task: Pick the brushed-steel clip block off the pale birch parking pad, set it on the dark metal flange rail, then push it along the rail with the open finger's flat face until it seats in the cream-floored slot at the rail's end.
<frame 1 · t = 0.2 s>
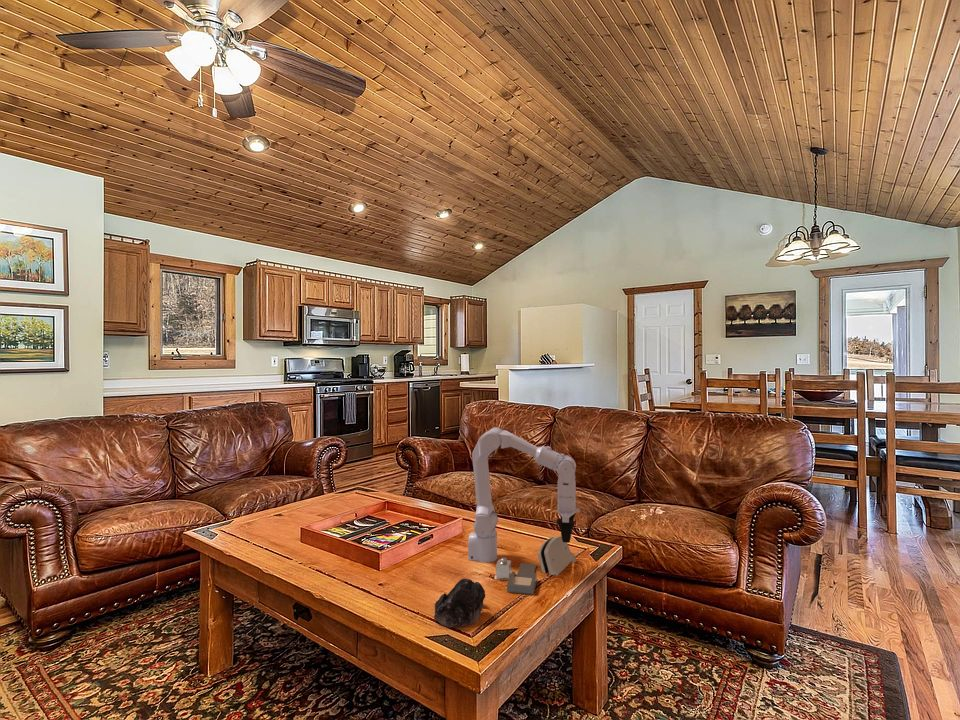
hand: (566, 537, 157), 10 cm above the table, tool pointing down, fingers open, 7 cm apart
black rock: (458, 616, 130), on the table
flange rail: (524, 580, 149), on the table
grey rounded housing: (556, 567, 159), on the table
parking pad: (503, 578, 150), on the table
clip block: (503, 575, 150), point 1 cm above the table, touching parking pad
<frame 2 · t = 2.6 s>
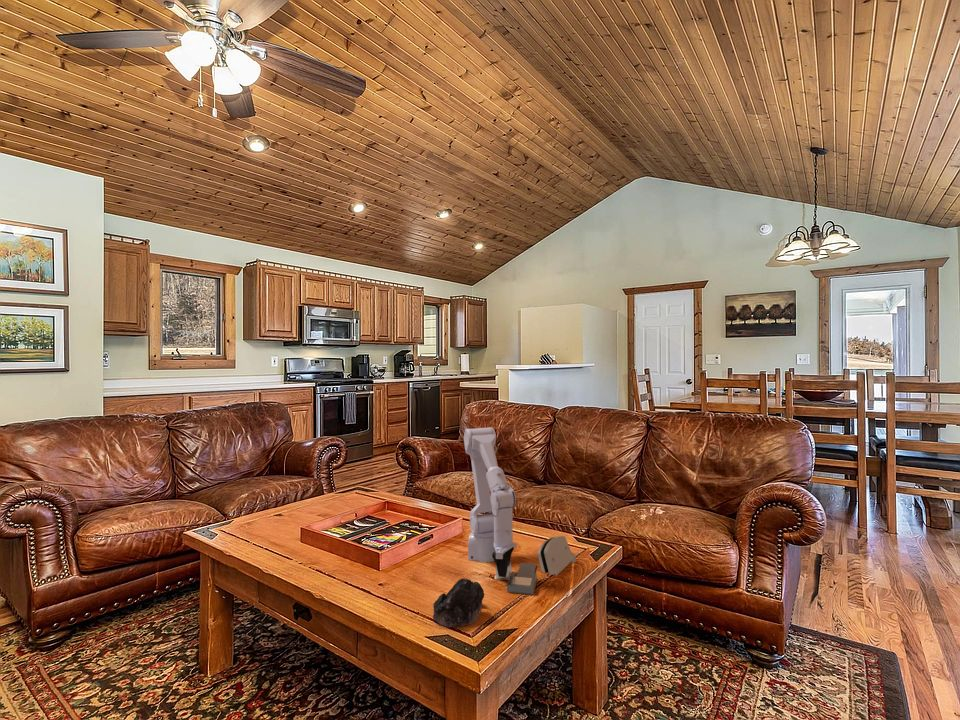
hand: (503, 573, 150), 2 cm above the table, tool pointing down, fingers closed on clip block, 4 cm apart
clip block: (503, 575, 150), point 1 cm above the table, touching gripper, parking pad
everything else where it was.
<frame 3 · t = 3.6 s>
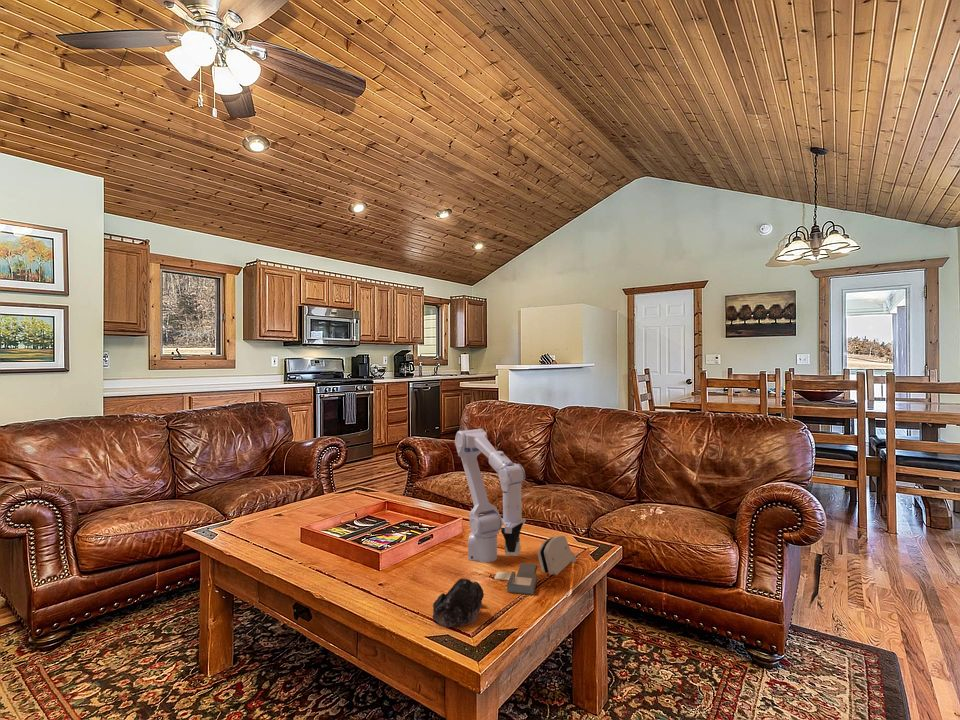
hand: (512, 548, 151), 9 cm above the table, tool pointing down, fingers closed on clip block, 4 cm apart
clip block: (512, 552, 151), point 8 cm above the table, touching gripper
everything else where it was.
when the fingers open (3 cm above the table, at t = 4.9 s): clip block stays where it is, resting on flange rail.
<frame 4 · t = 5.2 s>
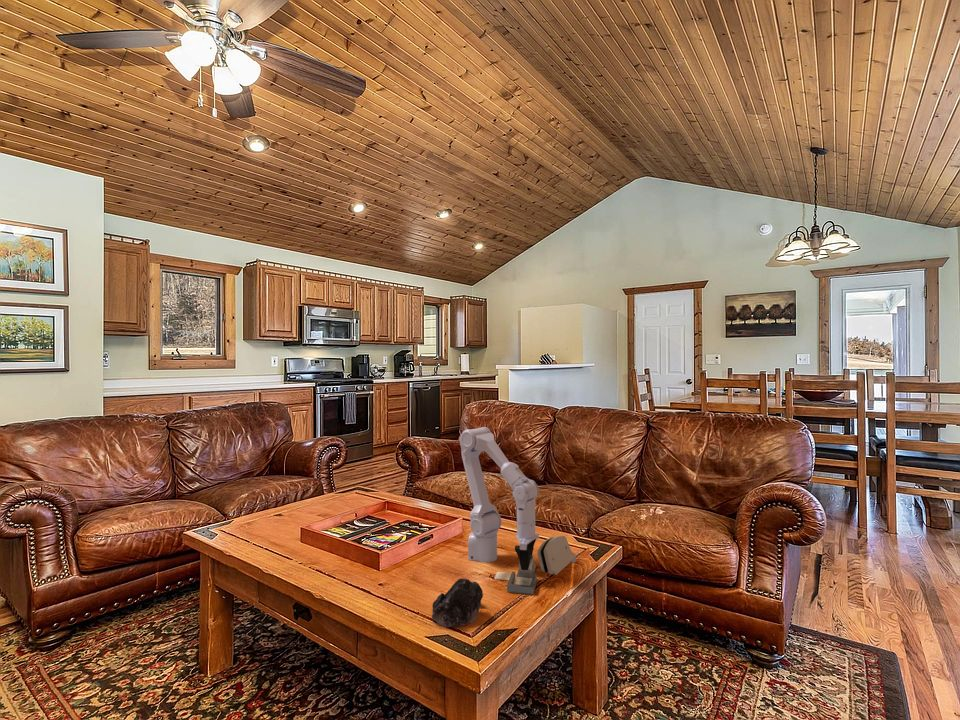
hand: (526, 564, 153), 3 cm above the table, tool pointing down, fingers open, 7 cm apart
clip block: (526, 570, 153), point 1 cm above the table, touching flange rail
everything else where it was.
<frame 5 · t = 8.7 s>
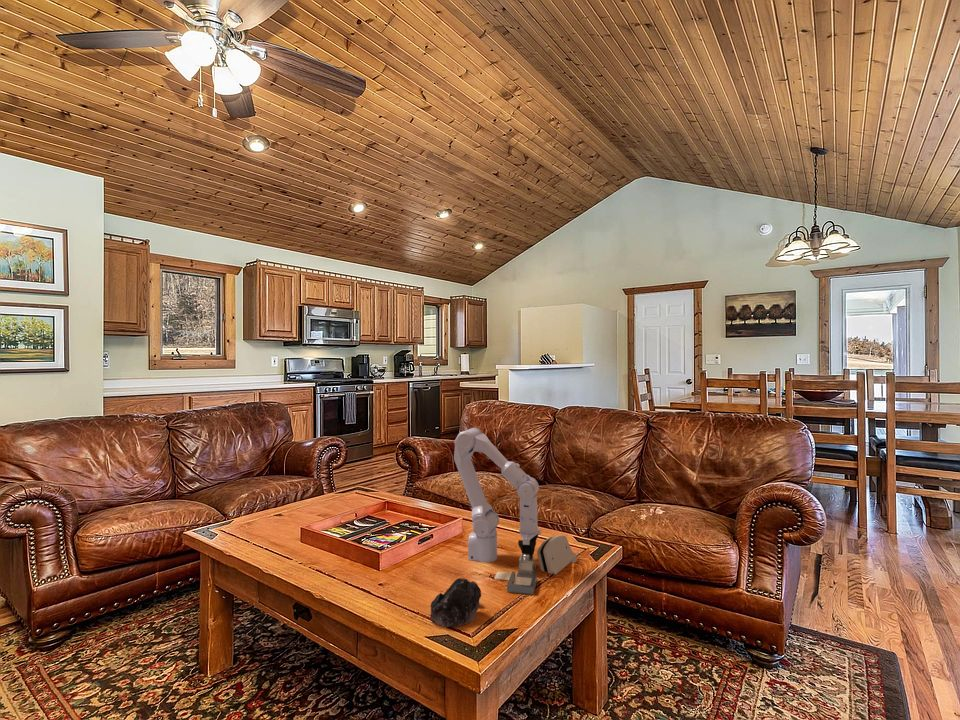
hand: (529, 558, 159), 3 cm above the table, tool pointing down, fingers open, 6 cm apart
clip block: (526, 570, 152), point 2 cm above the table, touching flange rail, gripper
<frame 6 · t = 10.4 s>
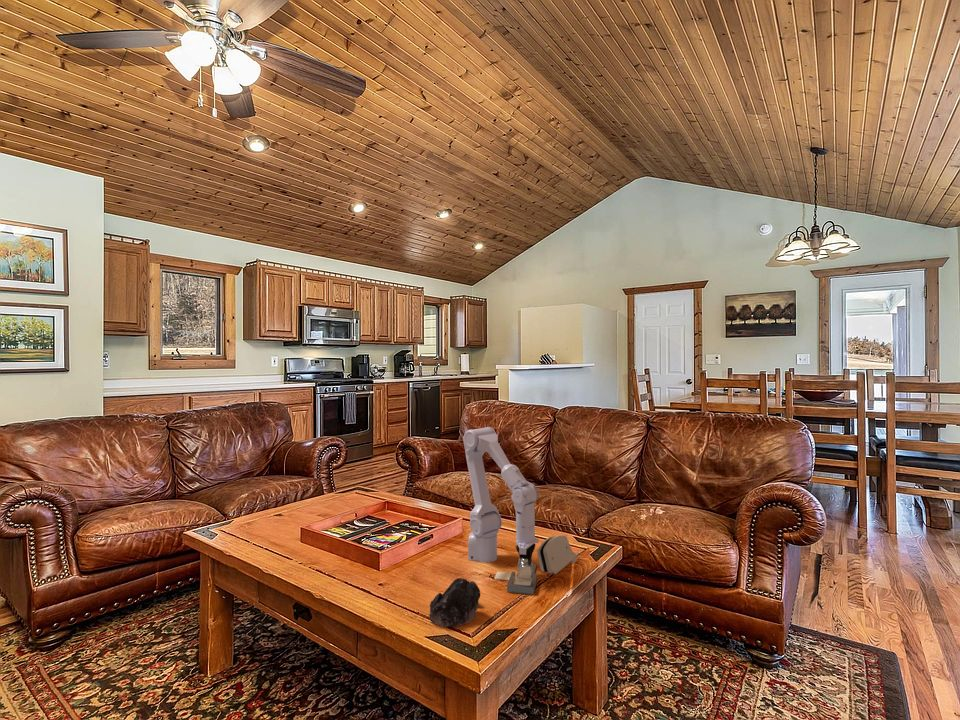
hand: (526, 568, 151), 3 cm above the table, tool pointing down, fingers closed, pressing on clip block
clip block: (525, 574, 149), point 2 cm above the table, tilted 10°, touching flange rail, gripper
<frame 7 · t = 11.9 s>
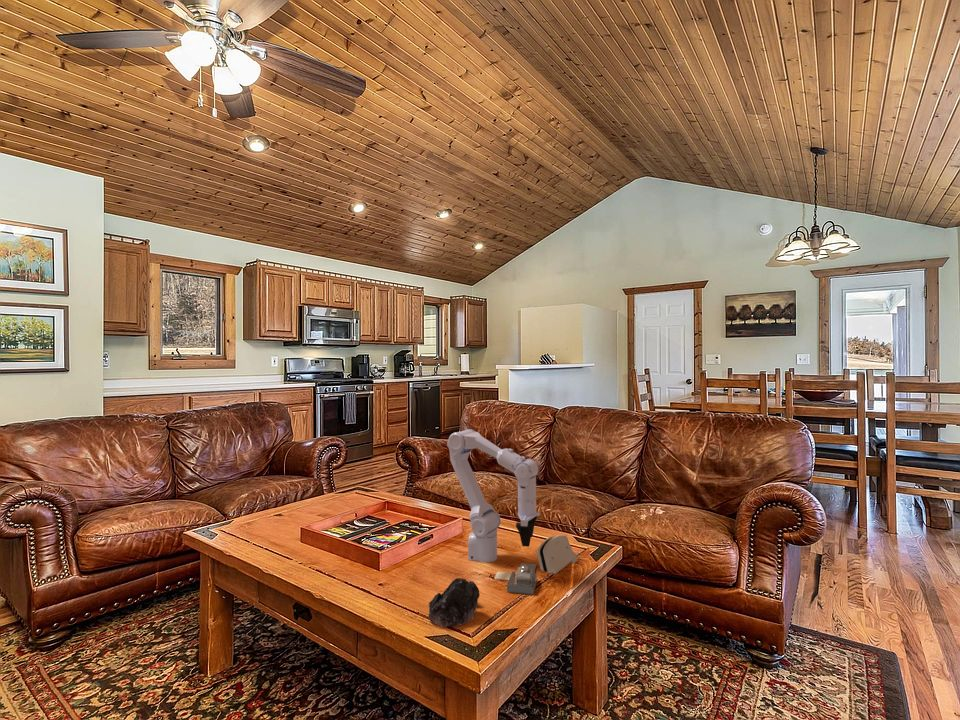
hand: (527, 541, 156), 9 cm above the table, tool pointing down, fingers open, 7 cm apart
clip block: (524, 584, 143), point 1 cm above the table, touching flange rail
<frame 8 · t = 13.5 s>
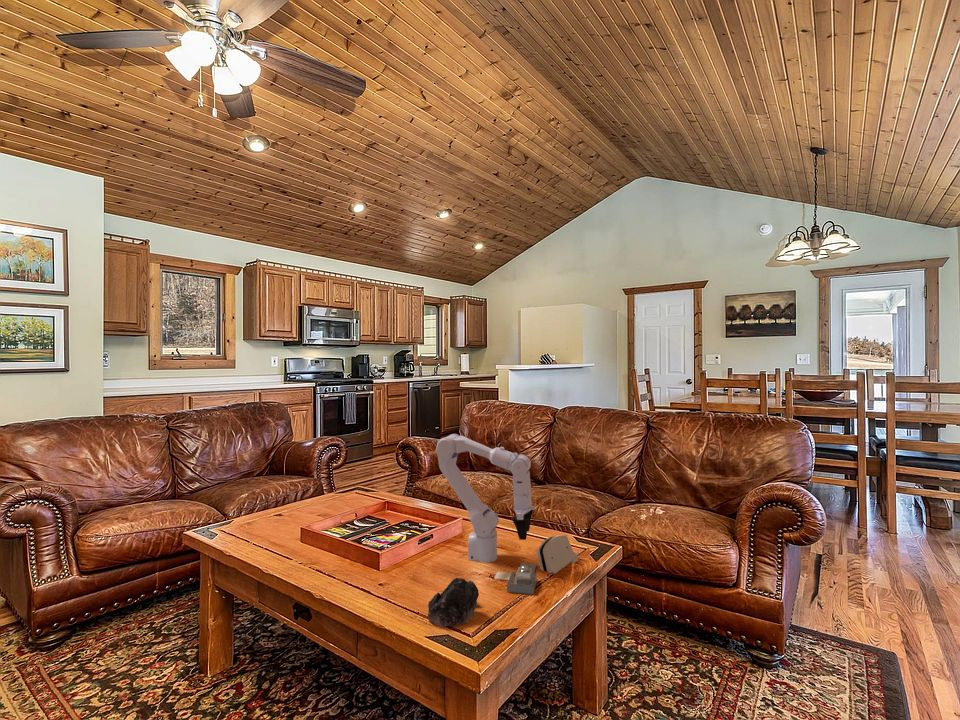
hand: (524, 535, 160), 10 cm above the table, tool pointing down, fingers open, 7 cm apart
at the end: clip block 1.1 cm from the target spot on the flange rail, point 1.5 cm above the flange rail's base; clip block tilted 0°; the gripper is holding nothing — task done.
